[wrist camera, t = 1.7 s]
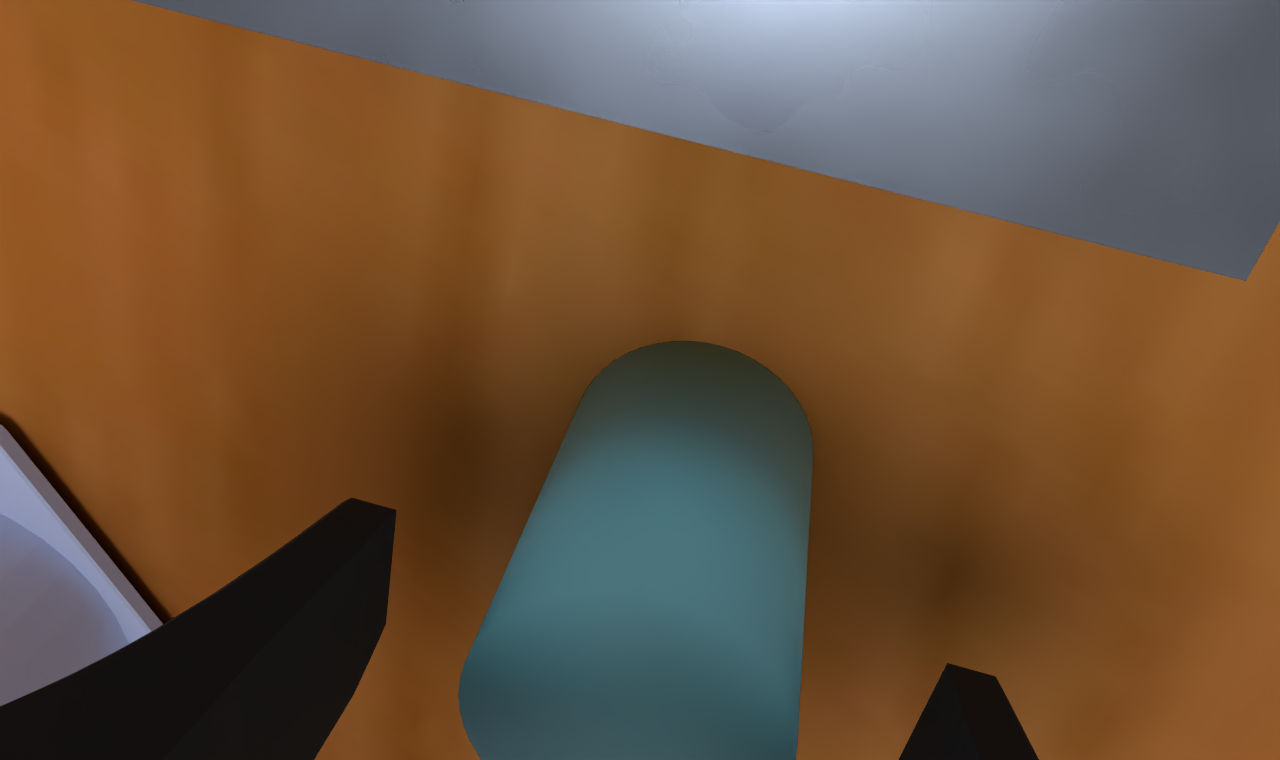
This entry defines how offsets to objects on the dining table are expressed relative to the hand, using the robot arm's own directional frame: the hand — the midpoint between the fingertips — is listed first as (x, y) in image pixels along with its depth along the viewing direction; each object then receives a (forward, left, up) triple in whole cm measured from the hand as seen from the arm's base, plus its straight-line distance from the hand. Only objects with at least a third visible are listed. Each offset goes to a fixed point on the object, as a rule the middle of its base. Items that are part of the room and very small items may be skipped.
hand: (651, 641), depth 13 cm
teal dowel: (0, 0, -5) cm, 5 cm away
